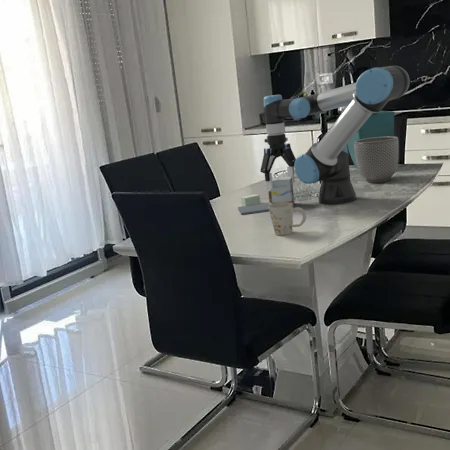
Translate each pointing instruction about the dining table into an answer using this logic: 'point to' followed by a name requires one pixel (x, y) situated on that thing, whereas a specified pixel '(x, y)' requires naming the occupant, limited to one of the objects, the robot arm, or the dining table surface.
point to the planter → (377, 158)
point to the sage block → (250, 200)
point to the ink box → (282, 190)
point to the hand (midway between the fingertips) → (281, 185)
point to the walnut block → (270, 196)
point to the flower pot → (373, 129)
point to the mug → (284, 217)
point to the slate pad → (254, 208)
